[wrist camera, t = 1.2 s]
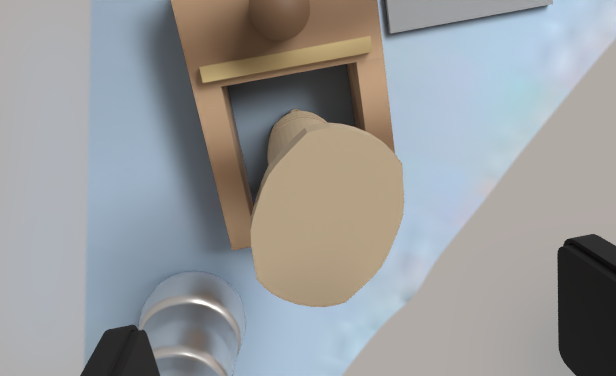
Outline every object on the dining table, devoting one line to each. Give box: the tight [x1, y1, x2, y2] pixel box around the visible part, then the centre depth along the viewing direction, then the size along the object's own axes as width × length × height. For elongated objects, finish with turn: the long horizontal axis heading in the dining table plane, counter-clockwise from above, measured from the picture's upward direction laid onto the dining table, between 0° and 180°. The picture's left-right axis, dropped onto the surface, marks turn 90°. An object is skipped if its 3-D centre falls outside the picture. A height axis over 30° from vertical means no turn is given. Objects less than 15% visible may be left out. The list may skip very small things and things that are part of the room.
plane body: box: [171, 0, 395, 250], centre depth 26 cm, size 15×10×6 cm
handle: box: [250, 109, 404, 307], centre depth 23 cm, size 5×6×15 cm
